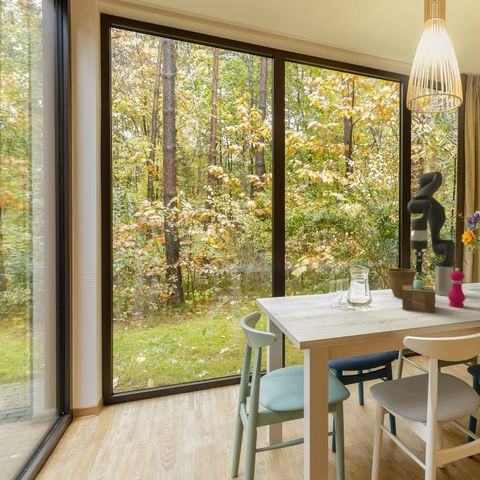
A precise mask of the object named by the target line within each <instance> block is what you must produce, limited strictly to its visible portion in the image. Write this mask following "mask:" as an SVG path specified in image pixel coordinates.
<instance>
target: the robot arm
mask: <svg viewBox="0 0 480 480" xmlns="http://www.w3.org/2000/svg"><path fill="white" fill-rule="evenodd" d="M443 180H444V179H443V175H442V173H441V172H440V171H430V172H426V173H421V174H419V176H418V184H419V188H420V190H419V191H418V192H417V194H416V196H414V197H413V198H411V200H410V201H408V203H407V207H406V208H407V212H408V213H409V214H411V215H420V214H421V216H420V217H419V218H414V219H412V220H411V230H410V231H411V233H410V249H413V250H415V251H414V255H413V256H414V260H415V272H416V273H422V271H423V270H422V269H423V268H422V267H423V261H424V254H425V253H424V252H423V250H427V249H428V244H429V243H428V241H429V234H428V227H429V231H430V240H431V248H432V249H431V250H432V251H433V253H434V254H435V255H441V256H442V255H443V256H444V258H442V259H437V260H436V261H435V263H434V291H435V295H438V296H443V297H448V296H449V293H450V291H451V289H452V283H451V282H452V281H451V280H452V279H451V277H450V274H451V273H452V272H453V271H454V264H455V263H454V262H455V255H456V243H455V241H454V240H453V239H441V235H440V234H441V230H442V228H443V227H444V226H445V223H446V220H447V217H446V215H447V214H446V209H445V207H444V206H443V204H441V203H440V201H438V200H437V199H436V198H435V197H433V196H434V195H435V193H436V192H438V190H439V189H440V188H441V187H442V185H443Z"/></svg>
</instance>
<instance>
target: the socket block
mask: <svg viewBox="0 0 480 480" xmlns="http://www.w3.org/2000/svg"><path fill="white" fill-rule="evenodd" d="M401 299H402V301H401V302H402V304H401V305H402V307H401V308H402V310H404V311H413V312H423V313H432V314H435V313H436V294H435V287H433V286H424V285H423V290H418V289H414V285H412V286H410V285H403V298H401Z"/></svg>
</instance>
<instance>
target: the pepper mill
mask: <svg viewBox="0 0 480 480" xmlns="http://www.w3.org/2000/svg"><path fill="white" fill-rule="evenodd" d="M450 277H451V279H452V280H451V281H452V282H451V283H452V289H451V291H450V293H449V296H447V298H448V300H449V302H448V303H449V304H448V305H449V306H450V307H452V308H459V309H460V308H464V307H465V303H464V302H465V301H466V295H465V294H464V291H463V287H462V286H463V283H464V279H465V274H464V272H462V271H460V268H459V267H456V268H455V270H453V272H452V273H451V274H450Z"/></svg>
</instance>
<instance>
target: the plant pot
mask: <svg viewBox="0 0 480 480" xmlns="http://www.w3.org/2000/svg"><path fill="white" fill-rule="evenodd" d="M386 272H387V273H386V274H387V277H388V282H389V286H390V290H391V291H392V295H393V296H394V298H397V299H398V298H400V299H402V298H403V285H410V286H414V280H415V276H416V269H411V268H410V269H409V268H388V269H386Z"/></svg>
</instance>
